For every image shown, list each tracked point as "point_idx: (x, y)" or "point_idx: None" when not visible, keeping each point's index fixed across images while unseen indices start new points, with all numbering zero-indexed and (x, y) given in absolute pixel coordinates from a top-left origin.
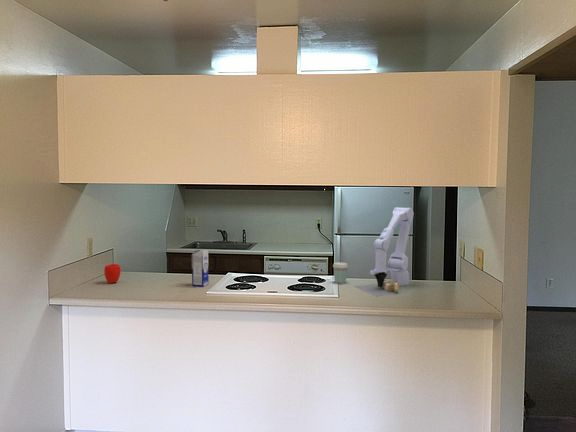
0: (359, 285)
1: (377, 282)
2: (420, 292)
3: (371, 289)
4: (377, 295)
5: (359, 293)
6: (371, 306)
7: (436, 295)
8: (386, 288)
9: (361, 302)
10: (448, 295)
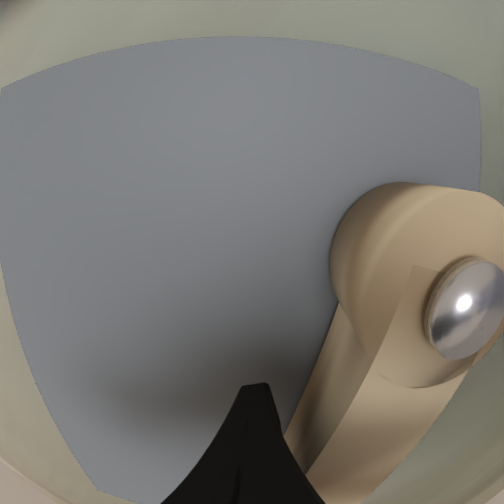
0: (70, 69)
1: (361, 238)
2: (477, 454)
3: (113, 367)
4: (109, 488)
5: (8, 347)
6: (60, 498)
7: (461, 490)
8: None
9: (24, 460)
10: (487, 483)
